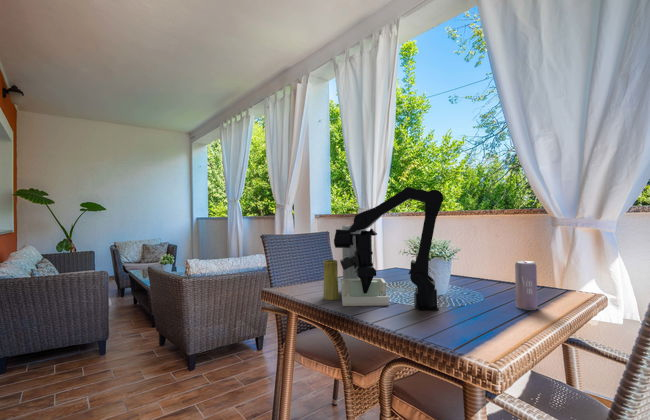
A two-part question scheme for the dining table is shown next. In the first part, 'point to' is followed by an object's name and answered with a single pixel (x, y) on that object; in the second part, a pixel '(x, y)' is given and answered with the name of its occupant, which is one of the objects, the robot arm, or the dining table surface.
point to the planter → (348, 252)
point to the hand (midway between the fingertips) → (364, 292)
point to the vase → (330, 280)
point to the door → (358, 290)
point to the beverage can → (526, 285)
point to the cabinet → (364, 300)
